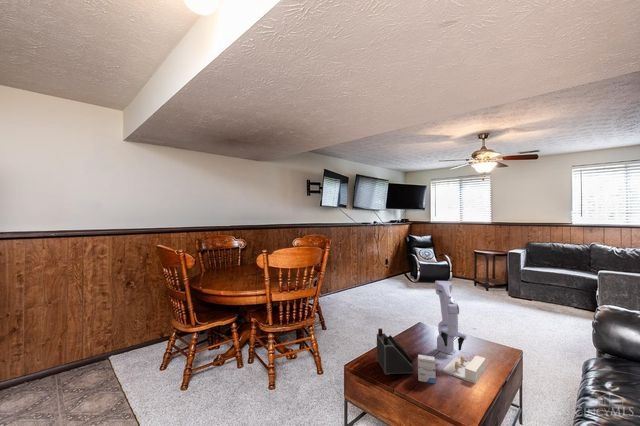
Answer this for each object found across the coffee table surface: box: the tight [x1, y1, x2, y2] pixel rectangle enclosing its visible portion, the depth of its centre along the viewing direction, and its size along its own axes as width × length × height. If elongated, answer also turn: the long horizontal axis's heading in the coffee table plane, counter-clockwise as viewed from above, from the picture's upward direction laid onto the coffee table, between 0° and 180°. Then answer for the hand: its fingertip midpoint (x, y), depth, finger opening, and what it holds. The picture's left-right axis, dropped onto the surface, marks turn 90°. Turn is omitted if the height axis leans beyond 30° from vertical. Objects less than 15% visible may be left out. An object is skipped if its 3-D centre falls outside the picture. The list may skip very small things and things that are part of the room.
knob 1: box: [455, 362, 462, 370], centre depth 154 cm, size 3×4×4 cm
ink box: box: [417, 354, 437, 384], centre depth 147 cm, size 8×5×12 cm, turn 71°
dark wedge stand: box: [376, 328, 415, 376], centre depth 159 cm, size 16×16×20 cm
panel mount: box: [442, 355, 487, 385], centre depth 156 cm, size 16×20×6 cm
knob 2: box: [460, 355, 468, 364], centre depth 160 cm, size 3×4×4 cm
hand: (452, 347), depth 165 cm, fingers open, 7 cm apart
